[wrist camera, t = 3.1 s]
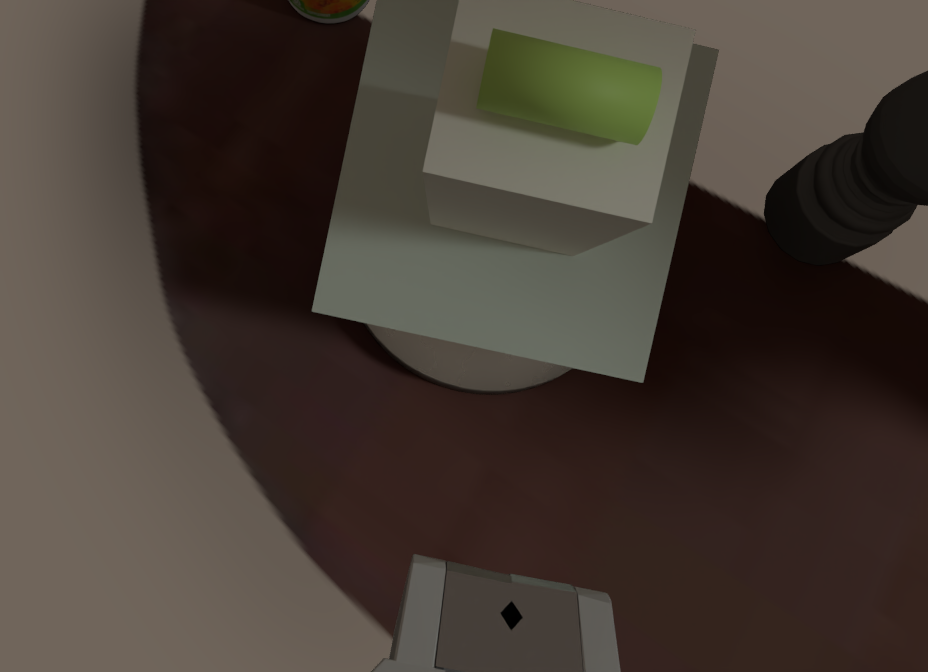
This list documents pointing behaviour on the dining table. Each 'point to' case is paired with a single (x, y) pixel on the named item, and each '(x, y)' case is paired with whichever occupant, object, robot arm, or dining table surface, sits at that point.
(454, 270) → the white stepped fixture
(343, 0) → the supplement bottle
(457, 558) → the dining table surface
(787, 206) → the candle holder
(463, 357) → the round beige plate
